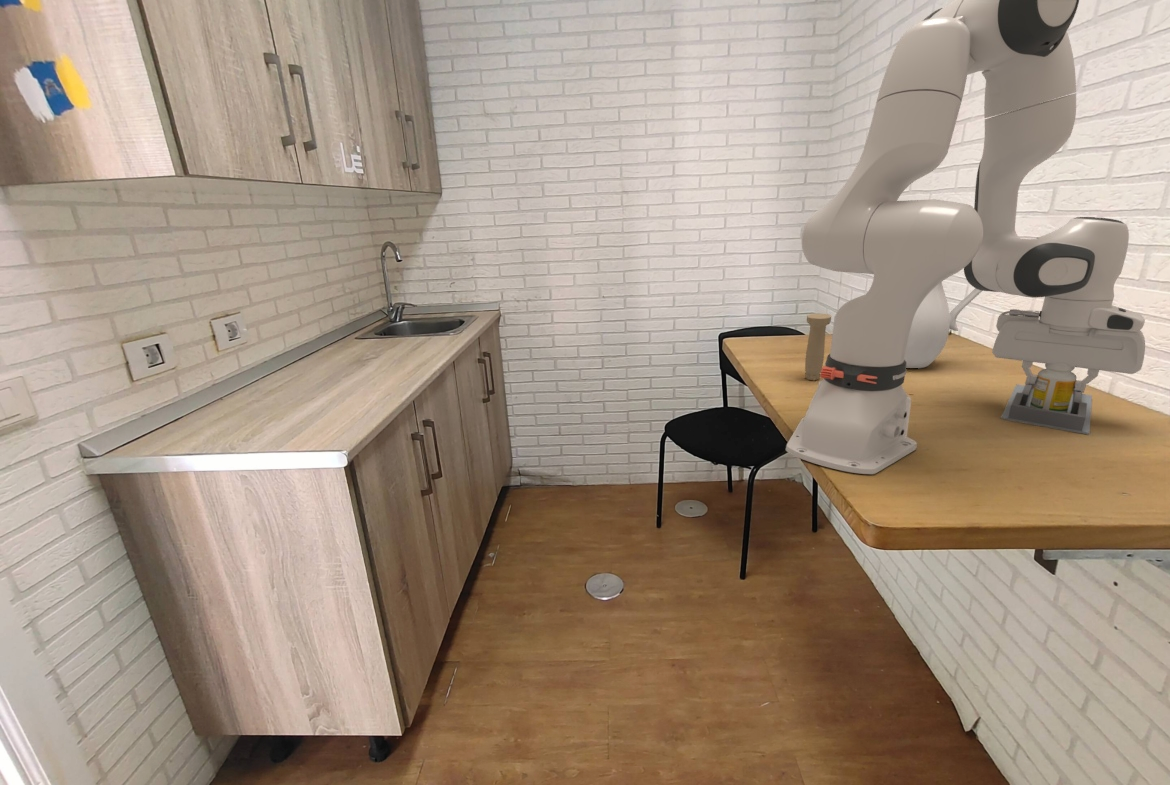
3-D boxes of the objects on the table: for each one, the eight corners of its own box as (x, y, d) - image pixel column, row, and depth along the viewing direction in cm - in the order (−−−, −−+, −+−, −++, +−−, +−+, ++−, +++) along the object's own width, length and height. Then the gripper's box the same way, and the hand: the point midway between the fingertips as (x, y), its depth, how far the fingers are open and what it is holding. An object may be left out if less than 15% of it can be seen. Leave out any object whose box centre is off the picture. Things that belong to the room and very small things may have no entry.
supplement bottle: (1026, 410, 98) (1037, 361, 95) (1033, 403, 101) (1045, 355, 98) (1063, 417, 94) (1077, 366, 91) (1070, 409, 97) (1083, 360, 94)
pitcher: (867, 369, 128) (884, 253, 119) (862, 352, 143) (876, 247, 134) (984, 377, 119) (1012, 252, 110) (966, 358, 134) (989, 246, 125)
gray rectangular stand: (1089, 434, 89) (1093, 419, 88) (1000, 418, 97) (1004, 404, 96) (1091, 397, 105) (1095, 383, 104) (1016, 386, 113) (1019, 373, 112)
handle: (825, 376, 124) (833, 314, 119) (820, 384, 119) (827, 319, 114) (804, 374, 127) (810, 312, 122) (798, 381, 122) (804, 317, 117)
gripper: (997, 310, 96) (982, 381, 101) (1157, 322, 83) (1131, 403, 87) (1002, 305, 101) (987, 373, 105) (1155, 316, 87) (1130, 394, 92)
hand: (1053, 387), depth 96 cm, fingers closed on supplement bottle, 5 cm apart
